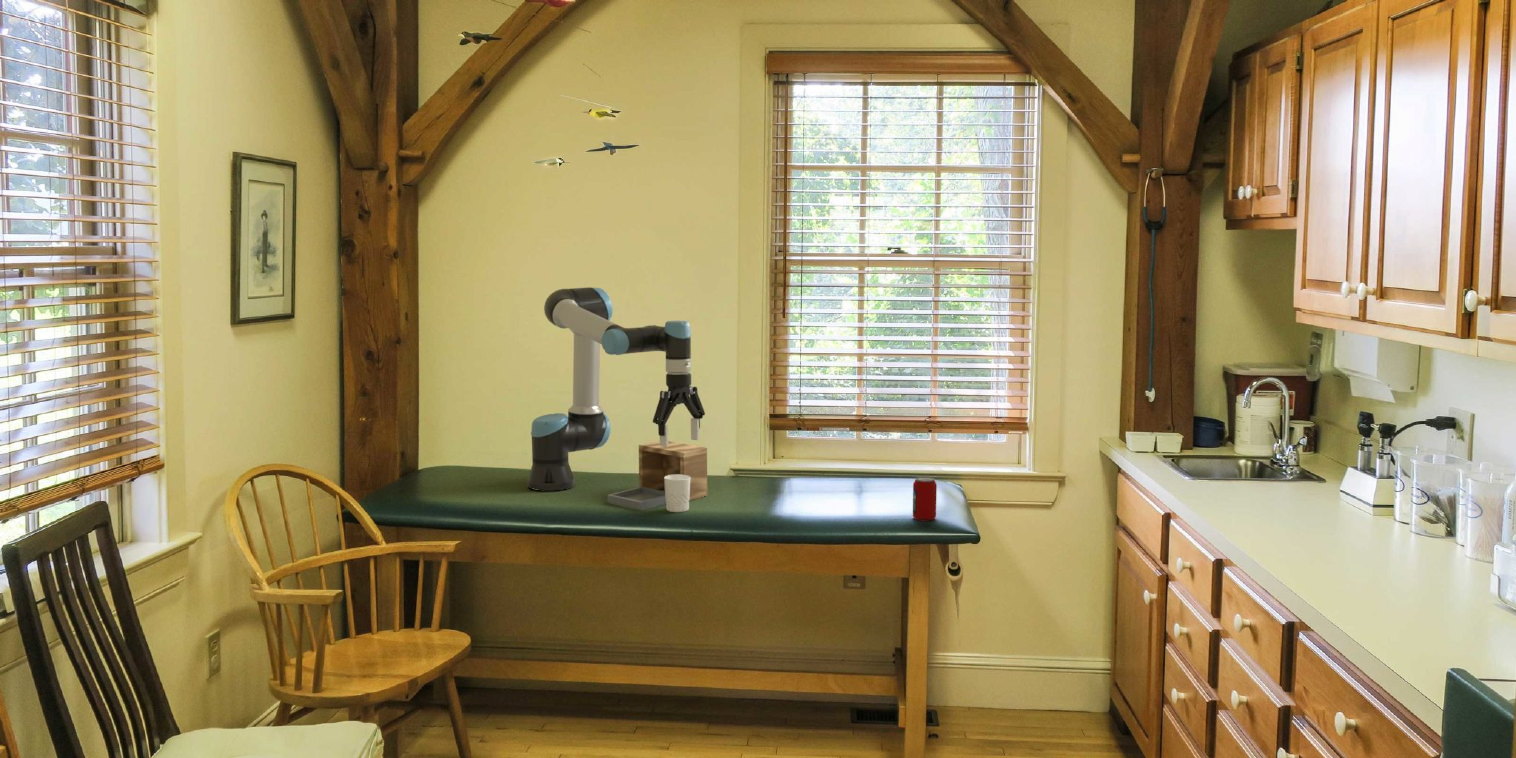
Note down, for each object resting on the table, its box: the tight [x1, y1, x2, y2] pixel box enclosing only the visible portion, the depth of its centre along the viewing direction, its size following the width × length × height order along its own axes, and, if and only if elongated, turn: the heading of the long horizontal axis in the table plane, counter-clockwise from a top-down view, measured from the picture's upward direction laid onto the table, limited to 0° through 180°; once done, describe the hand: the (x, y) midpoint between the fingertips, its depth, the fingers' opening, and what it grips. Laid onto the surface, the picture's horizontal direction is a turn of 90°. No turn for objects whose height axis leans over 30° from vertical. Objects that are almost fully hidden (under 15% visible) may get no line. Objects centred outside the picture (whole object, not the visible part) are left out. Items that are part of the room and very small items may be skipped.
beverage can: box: [912, 476, 938, 522], centre depth 336 cm, size 7×7×12 cm
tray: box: [606, 486, 666, 511], centre depth 357 cm, size 15×15×2 cm
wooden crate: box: [638, 440, 708, 502], centre depth 367 cm, size 20×10×16 cm, turn 50°
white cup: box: [664, 474, 690, 513], centre depth 347 cm, size 8×8×10 cm
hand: (679, 443), depth 347 cm, fingers open, 13 cm apart
